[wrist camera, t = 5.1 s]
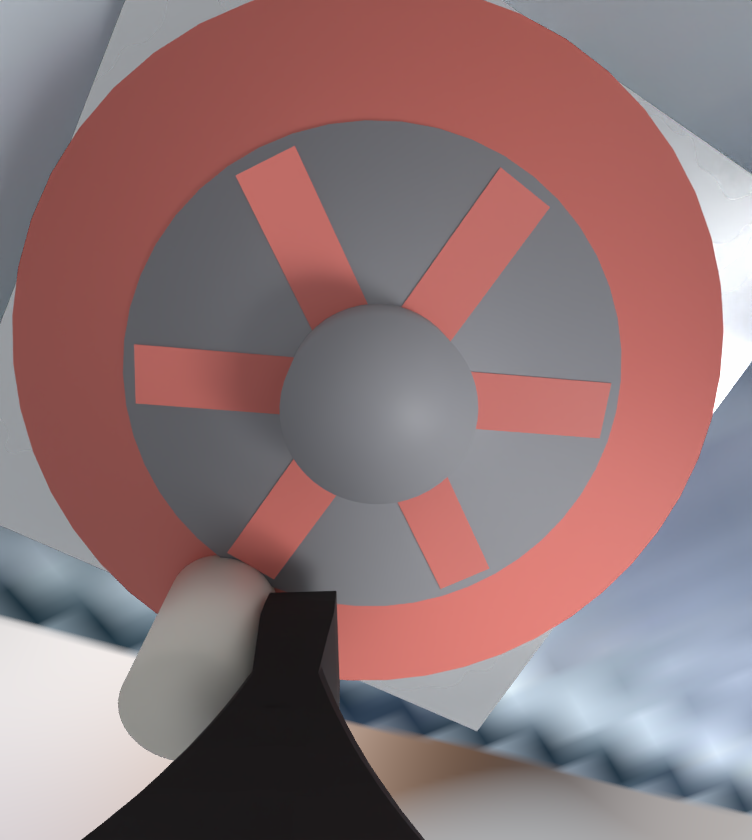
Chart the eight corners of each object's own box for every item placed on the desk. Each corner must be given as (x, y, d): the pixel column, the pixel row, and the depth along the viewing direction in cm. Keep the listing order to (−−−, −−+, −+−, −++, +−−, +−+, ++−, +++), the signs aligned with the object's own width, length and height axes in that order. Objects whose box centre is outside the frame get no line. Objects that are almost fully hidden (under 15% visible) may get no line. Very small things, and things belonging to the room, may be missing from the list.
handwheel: (275, -177, 9) (223, -462, 5) (817, 296, 11) (1041, 329, 8) (-63, 452, 12) (-255, 557, 8) (435, 725, 14) (466, 903, 10)
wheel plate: (827, 237, 12) (843, 238, 11) (473, 718, 15) (477, 730, 15) (211, -189, 9) (204, -207, 9) (-55, 488, 13) (-68, 496, 12)
